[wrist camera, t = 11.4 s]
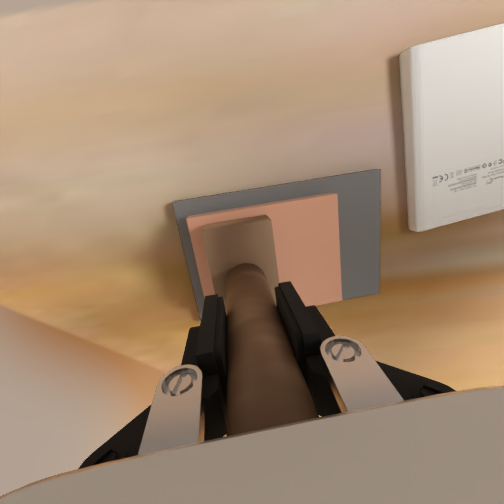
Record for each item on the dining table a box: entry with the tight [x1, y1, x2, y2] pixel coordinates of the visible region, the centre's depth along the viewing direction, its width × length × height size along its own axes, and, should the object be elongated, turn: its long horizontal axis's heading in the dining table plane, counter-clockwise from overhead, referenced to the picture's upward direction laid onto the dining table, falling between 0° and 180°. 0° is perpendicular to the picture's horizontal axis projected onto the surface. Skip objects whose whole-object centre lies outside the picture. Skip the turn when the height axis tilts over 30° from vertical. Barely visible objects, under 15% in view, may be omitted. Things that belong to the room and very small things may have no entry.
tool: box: [201, 215, 319, 436], centre depth 11 cm, size 4×7×14 cm, turn 9°
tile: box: [186, 193, 342, 306], centre depth 18 cm, size 1×8×10 cm
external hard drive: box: [399, 23, 504, 232], centre depth 19 cm, size 2×8×12 cm
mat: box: [172, 169, 381, 320], centre depth 20 cm, size 15×10×1 cm, turn 99°
